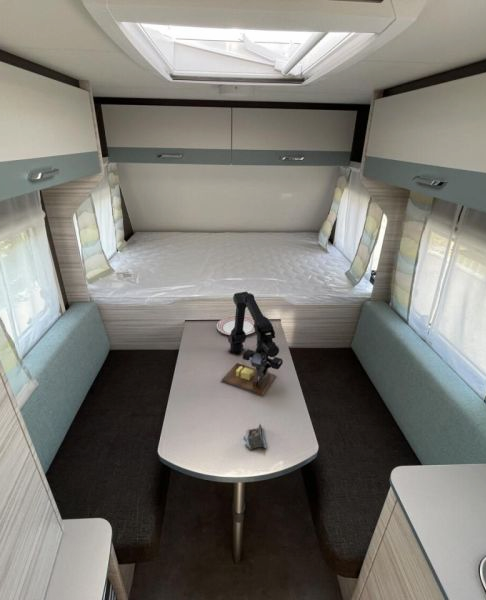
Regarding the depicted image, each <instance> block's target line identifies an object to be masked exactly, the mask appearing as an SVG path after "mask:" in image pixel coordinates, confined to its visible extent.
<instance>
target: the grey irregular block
mask: <svg viewBox="0 0 486 600" xmlns="http://www.w3.org/2000/svg"><path fill="white" fill-rule="evenodd" d="M244 438H245V444H246V446H247V447H248V448H249V450H252V449H257V448H261V447H263V449H267V446H266V442H265V437H264V431H263V428H262V424H261V423H259V425H258V427H256V428H253V429H249V430H248V432H246V433H245V436H244Z"/></svg>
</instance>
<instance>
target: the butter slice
mask: <svg viewBox="0 0 486 600" xmlns="http://www.w3.org/2000/svg"><path fill="white" fill-rule="evenodd" d="M242 370H243V367H242V366H240V367H239V368H238V369H237V370H236V376H238V377H239V375H240V374H241V371H242Z"/></svg>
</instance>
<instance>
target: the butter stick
mask: <svg viewBox="0 0 486 600" xmlns="http://www.w3.org/2000/svg"><path fill="white" fill-rule="evenodd" d="M253 375H254V370H251V369H248V368H244V369H243V370H242V371H241V378H244V379H247V380H250V379H251V378H252V377H253Z"/></svg>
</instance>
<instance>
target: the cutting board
mask: <svg viewBox="0 0 486 600" xmlns="http://www.w3.org/2000/svg"><path fill="white" fill-rule="evenodd" d="M240 366H242V367H243V369H244V368H248V369H251V370H254V375H253V377H252V378H251V379H250V380H247V379H244V378H241V374H240V375H239V377H238V376H236V370H237V369H238V368H239V367H240ZM258 377H259V376H258V375H257V369H256V367H253V366H248V365H245V364H241V363H238V362H237V363H235V365H234V366H233V367H232V368H231V369H230V370H229V371H228V372H227V373H226V374H225V375H224V376H223V377H222V378H221V382H222V383H224V384H227V385H231V386H233V387H236V388H239V389H242V390H245V391H247V392H251V393H253V394H256V395H259V396H263V395H264V394H265V392H266V391H267V389H268V388H269V387H270V385H271V384H272V383H273V381H274V379H276V374H275V373H271V372H269V371H267V373H266V374H265V375H264V376H263V378H262V379H261V380H260V382H259V383H258Z"/></svg>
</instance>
